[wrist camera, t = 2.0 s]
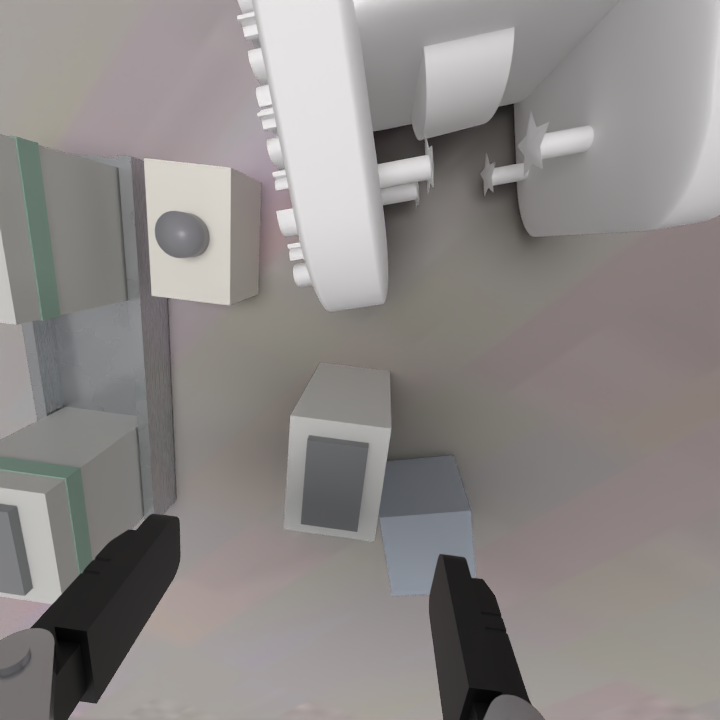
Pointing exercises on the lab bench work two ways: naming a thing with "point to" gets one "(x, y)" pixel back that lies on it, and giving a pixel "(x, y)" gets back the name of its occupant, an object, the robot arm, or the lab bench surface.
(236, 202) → the sensor block
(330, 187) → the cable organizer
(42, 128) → the lab bench surface
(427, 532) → the block
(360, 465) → the block
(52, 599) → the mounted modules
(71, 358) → the rail
